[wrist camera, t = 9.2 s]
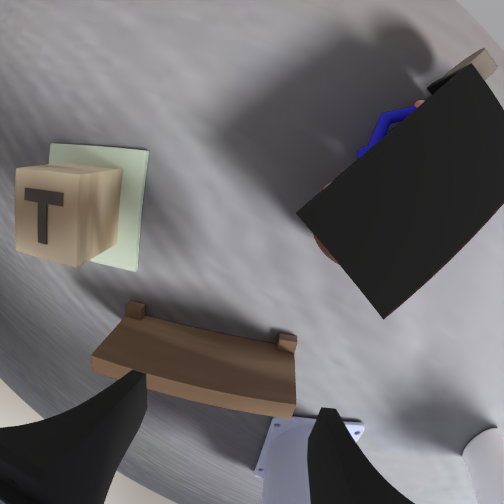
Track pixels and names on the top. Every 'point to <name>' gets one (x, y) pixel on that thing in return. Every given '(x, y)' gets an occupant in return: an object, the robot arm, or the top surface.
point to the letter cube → (67, 211)
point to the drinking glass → (486, 466)
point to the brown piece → (202, 364)
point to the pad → (130, 197)
